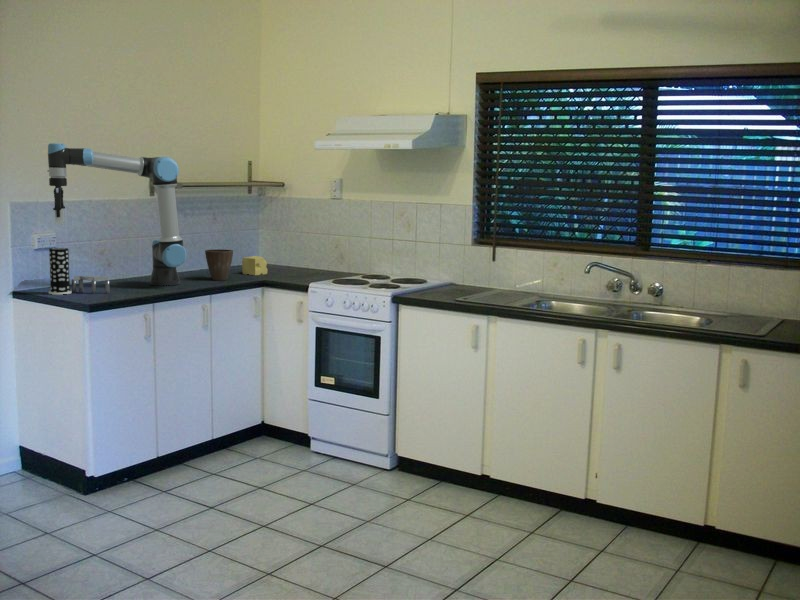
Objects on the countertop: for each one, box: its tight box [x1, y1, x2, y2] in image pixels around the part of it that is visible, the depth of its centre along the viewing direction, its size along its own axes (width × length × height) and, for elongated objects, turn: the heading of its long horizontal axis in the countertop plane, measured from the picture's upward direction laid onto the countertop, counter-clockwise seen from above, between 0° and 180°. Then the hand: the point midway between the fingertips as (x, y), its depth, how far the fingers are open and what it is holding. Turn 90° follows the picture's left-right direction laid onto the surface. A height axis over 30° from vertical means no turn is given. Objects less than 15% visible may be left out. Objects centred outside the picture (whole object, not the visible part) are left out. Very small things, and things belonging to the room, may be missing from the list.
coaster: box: [48, 289, 72, 296], centre depth 390 cm, size 10×10×1 cm
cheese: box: [241, 255, 268, 276], centre depth 479 cm, size 10×11×10 cm
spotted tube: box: [48, 247, 71, 293], centre depth 388 cm, size 8×8×20 cm
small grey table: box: [71, 275, 111, 294], centre depth 393 cm, size 17×6×8 cm, turn 107°
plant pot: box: [204, 248, 234, 282], centre depth 450 cm, size 15×15×16 cm
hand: (60, 223), depth 386 cm, fingers open, 13 cm apart
